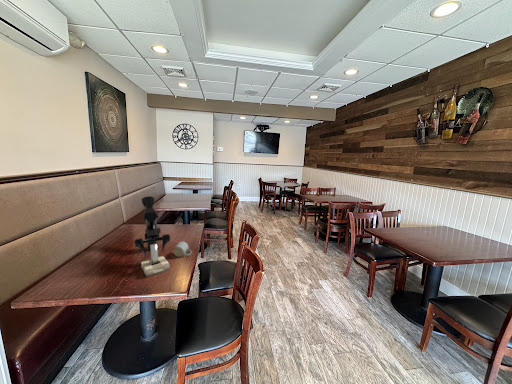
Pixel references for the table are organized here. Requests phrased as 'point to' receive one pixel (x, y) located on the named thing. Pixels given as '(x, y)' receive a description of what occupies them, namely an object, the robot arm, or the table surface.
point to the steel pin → (154, 254)
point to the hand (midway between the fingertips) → (154, 253)
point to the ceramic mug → (181, 249)
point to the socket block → (155, 266)
